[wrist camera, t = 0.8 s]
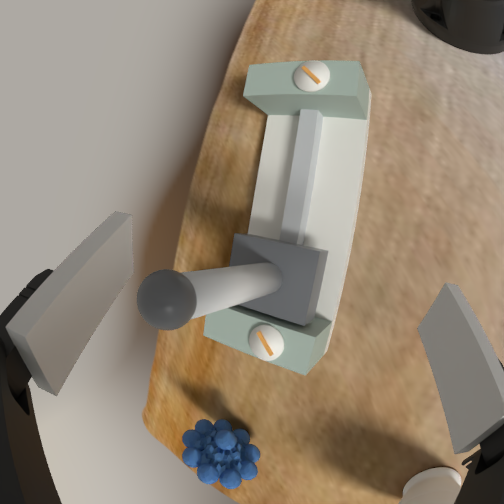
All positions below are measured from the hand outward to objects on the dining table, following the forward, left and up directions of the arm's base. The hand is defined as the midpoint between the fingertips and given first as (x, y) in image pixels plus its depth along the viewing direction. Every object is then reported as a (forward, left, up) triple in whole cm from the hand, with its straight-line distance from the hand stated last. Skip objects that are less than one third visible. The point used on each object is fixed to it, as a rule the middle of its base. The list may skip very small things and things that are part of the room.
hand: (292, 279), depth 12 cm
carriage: (+4, -8, -18) cm, 20 cm away
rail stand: (-3, -8, -22) cm, 24 cm away
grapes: (+28, -10, -22) cm, 37 cm away
